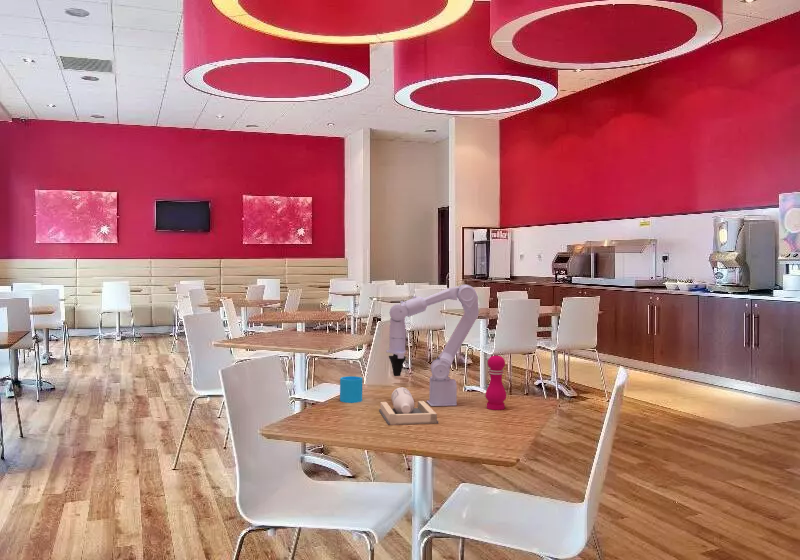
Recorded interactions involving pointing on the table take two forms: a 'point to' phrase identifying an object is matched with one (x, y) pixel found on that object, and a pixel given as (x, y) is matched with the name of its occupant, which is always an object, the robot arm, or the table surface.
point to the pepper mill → (496, 383)
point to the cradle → (408, 415)
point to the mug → (351, 389)
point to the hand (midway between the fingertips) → (396, 375)
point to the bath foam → (402, 401)
